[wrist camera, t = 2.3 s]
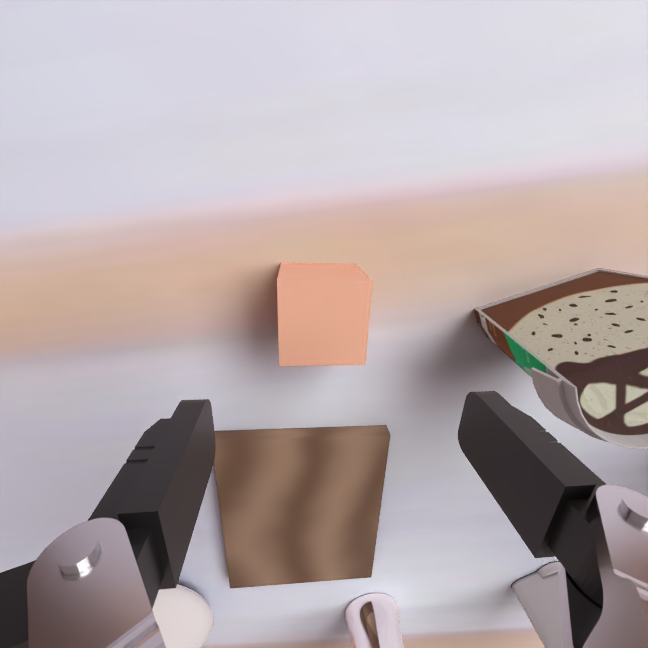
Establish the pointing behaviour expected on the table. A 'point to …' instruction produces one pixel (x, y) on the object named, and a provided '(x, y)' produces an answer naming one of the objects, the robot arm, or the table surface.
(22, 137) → the table surface
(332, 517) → the walnut board
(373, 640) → the beer glass
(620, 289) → the food container
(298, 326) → the terracotta cube
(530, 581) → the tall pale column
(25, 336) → the table surface
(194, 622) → the flower in vase
